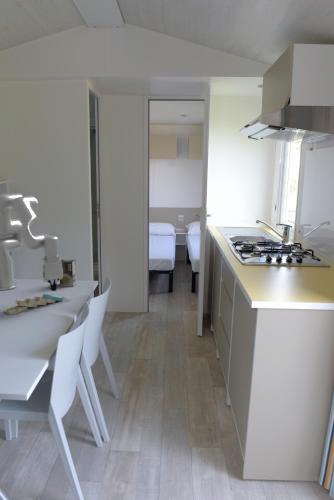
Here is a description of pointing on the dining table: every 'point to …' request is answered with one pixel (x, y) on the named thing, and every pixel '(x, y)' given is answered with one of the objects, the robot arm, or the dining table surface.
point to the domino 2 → (25, 303)
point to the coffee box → (68, 273)
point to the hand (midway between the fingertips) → (53, 290)
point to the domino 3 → (34, 301)
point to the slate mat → (47, 304)
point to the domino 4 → (43, 299)
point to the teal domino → (52, 297)
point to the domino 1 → (15, 309)
